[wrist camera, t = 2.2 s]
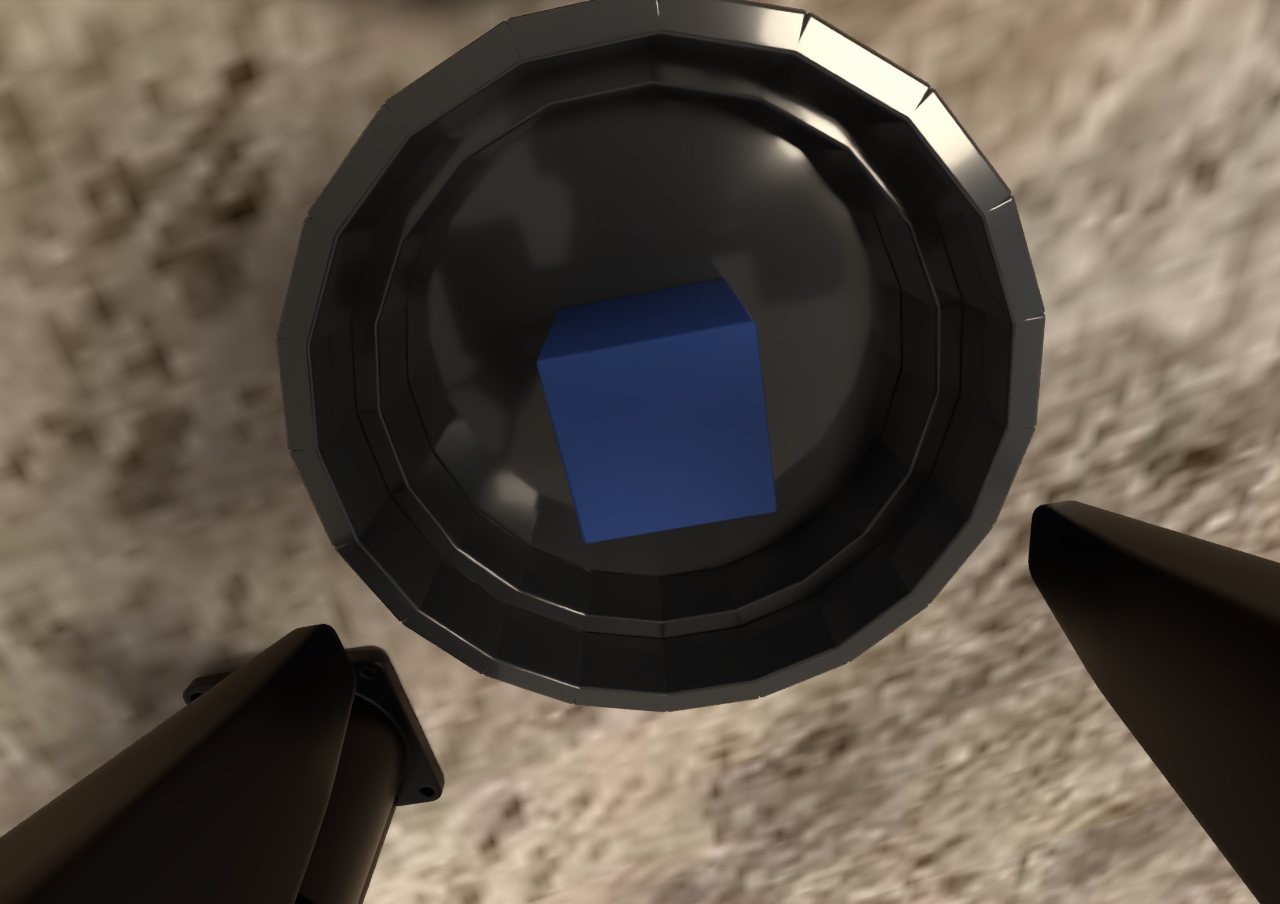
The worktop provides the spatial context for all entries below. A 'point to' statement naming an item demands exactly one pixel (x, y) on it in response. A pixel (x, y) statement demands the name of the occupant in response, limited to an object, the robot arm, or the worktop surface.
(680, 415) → the blue block
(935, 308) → the charcoal bowl
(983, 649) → the worktop surface
